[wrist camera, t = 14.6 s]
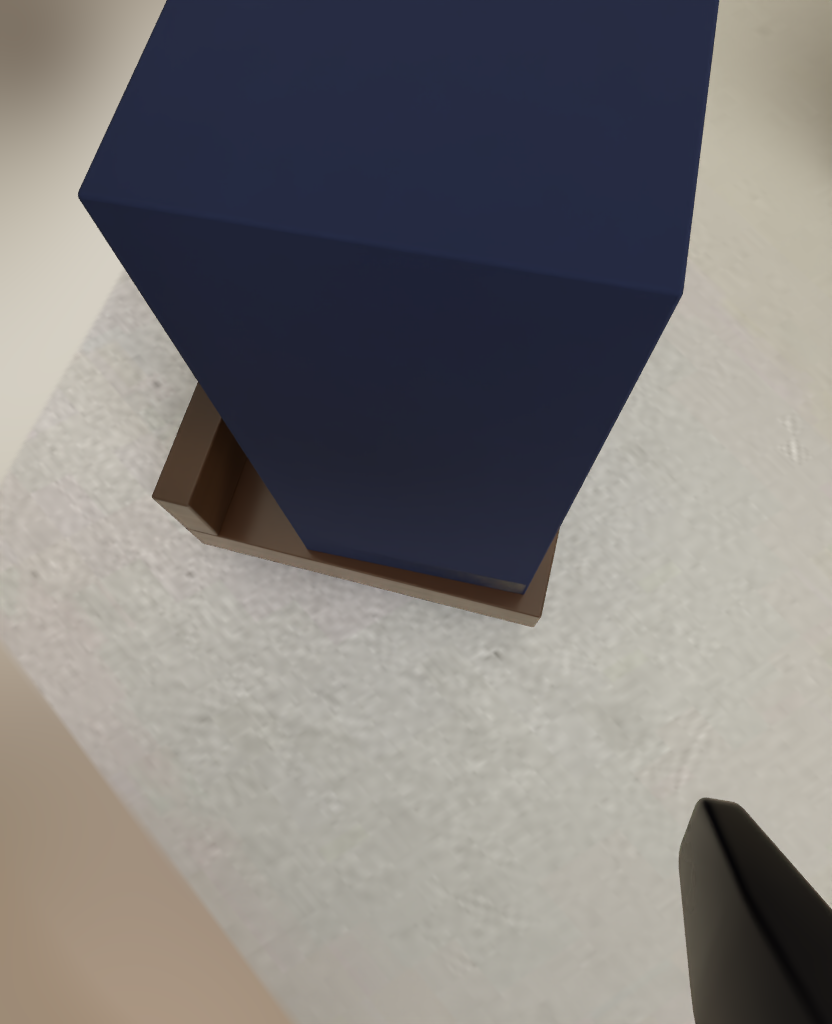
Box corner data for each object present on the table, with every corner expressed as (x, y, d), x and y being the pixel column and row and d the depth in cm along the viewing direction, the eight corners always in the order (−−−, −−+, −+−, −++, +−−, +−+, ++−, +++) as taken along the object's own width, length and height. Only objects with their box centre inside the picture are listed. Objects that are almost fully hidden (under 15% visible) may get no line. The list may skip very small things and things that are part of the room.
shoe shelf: (527, 636, 21) (556, 598, 16) (217, 556, 23) (149, 497, 17) (617, 215, 26) (661, 82, 21) (358, 167, 27) (339, 29, 22)
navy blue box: (524, 595, 19) (683, 294, 6) (306, 549, 19) (73, 194, 7) (593, 204, 23) (775, -440, 10) (411, 176, 23) (379, -465, 11)
